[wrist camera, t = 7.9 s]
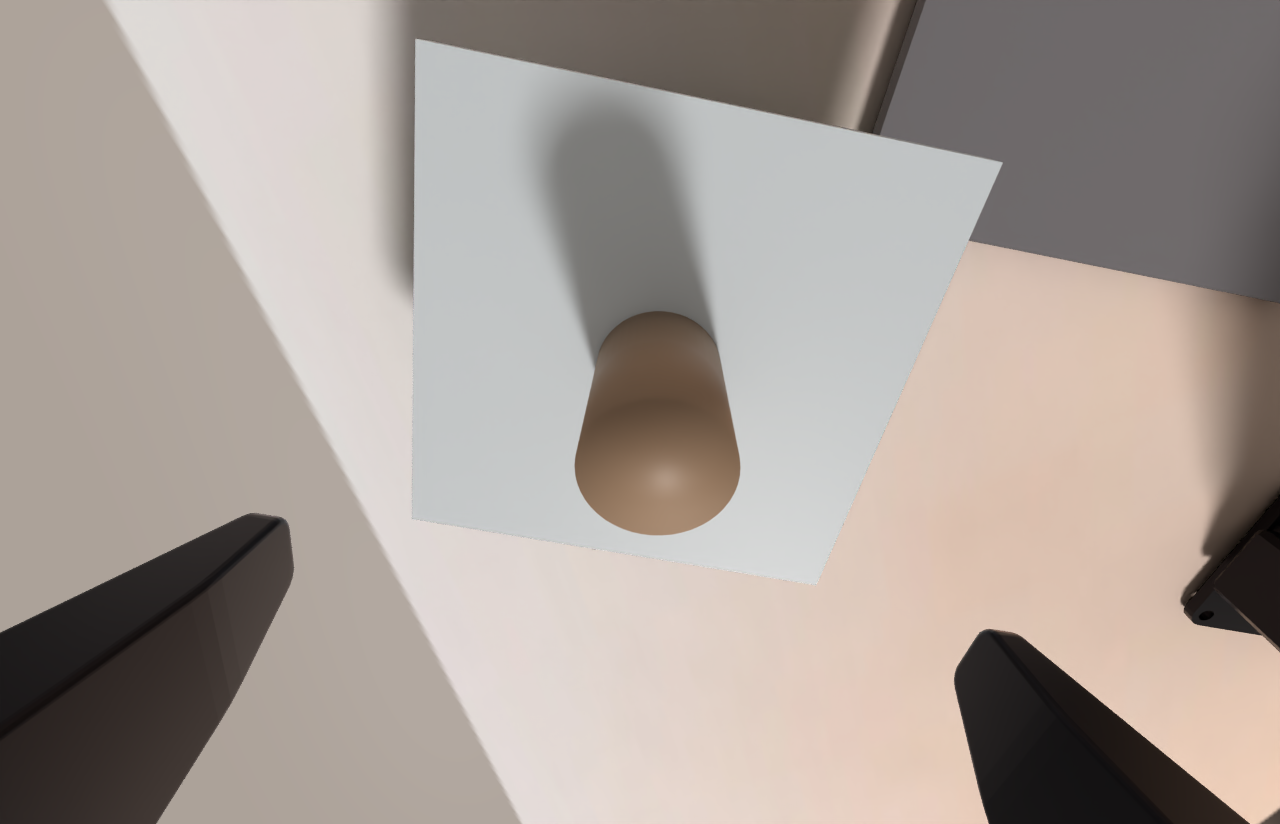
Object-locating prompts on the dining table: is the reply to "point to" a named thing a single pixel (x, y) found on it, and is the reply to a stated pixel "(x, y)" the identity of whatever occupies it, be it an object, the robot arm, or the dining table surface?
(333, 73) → the dining table surface
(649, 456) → the lid
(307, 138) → the dining table surface
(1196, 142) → the mat
